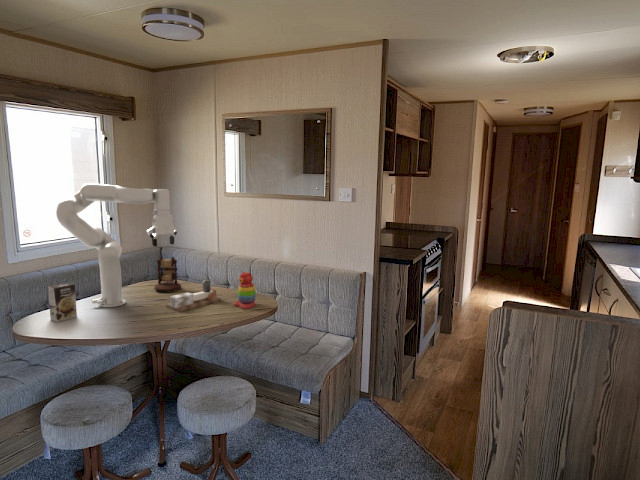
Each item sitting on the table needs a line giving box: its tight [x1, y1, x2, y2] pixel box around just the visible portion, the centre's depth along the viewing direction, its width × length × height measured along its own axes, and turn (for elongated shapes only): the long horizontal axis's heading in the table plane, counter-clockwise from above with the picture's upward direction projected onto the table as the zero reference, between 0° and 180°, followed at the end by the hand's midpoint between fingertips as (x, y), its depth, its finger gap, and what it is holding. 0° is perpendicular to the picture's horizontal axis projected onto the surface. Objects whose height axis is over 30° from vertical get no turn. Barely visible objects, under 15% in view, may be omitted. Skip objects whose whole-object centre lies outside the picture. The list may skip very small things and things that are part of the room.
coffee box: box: [48, 282, 78, 323], centre depth 197 cm, size 9×6×16 cm
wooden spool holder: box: [154, 256, 182, 293], centre depth 248 cm, size 15×15×20 cm
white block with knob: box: [192, 279, 213, 301], centre depth 226 cm, size 14×4×9 cm, turn 140°
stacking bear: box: [233, 271, 257, 310], centre depth 222 cm, size 11×10×18 cm
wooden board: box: [165, 288, 222, 313], centre depth 224 cm, size 26×12×6 cm, turn 140°
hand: (163, 245), depth 224 cm, fingers open, 9 cm apart
